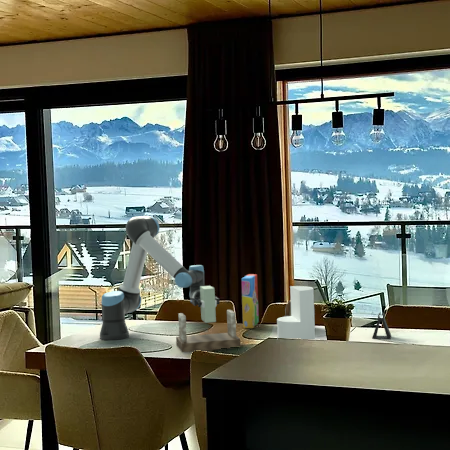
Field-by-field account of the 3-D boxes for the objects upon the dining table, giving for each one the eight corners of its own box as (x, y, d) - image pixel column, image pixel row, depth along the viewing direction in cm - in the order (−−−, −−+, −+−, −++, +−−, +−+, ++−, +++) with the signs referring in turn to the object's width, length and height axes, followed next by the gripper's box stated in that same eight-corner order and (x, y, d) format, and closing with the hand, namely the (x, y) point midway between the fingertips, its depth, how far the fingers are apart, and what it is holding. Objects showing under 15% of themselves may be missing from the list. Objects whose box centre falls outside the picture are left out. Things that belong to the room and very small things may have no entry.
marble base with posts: (182, 352, 351) (180, 318, 350) (176, 344, 368) (175, 312, 367) (240, 347, 356) (239, 313, 356) (232, 340, 374) (231, 308, 373)
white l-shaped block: (309, 343, 360) (307, 285, 358) (319, 350, 342) (317, 289, 341) (274, 345, 357) (272, 287, 356) (282, 353, 340) (280, 291, 339)
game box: (252, 328, 403) (251, 278, 402) (242, 328, 404) (241, 278, 403) (258, 321, 424) (257, 273, 422) (249, 321, 425) (247, 273, 424)
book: (205, 322, 355) (204, 289, 355) (201, 318, 367) (199, 286, 366) (215, 321, 356) (214, 288, 356) (211, 318, 368) (209, 285, 367)
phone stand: (372, 338, 365) (371, 314, 365) (372, 336, 371) (372, 312, 371) (390, 339, 363) (390, 314, 362) (391, 336, 369) (390, 312, 368)
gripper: (218, 304, 381) (228, 310, 358) (183, 306, 377) (191, 313, 354) (218, 289, 380) (228, 295, 358) (183, 291, 377) (190, 297, 354)
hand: (209, 304), depth 356 cm, fingers closed on book, 5 cm apart
